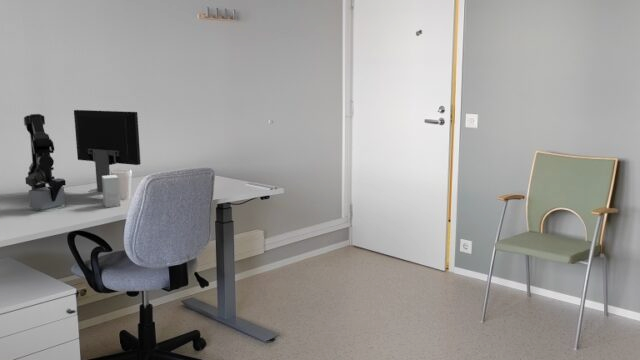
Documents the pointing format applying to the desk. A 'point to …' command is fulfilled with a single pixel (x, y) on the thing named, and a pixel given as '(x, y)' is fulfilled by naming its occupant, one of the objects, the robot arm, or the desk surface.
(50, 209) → the tape square
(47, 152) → the robot arm
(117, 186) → the small box
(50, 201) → the large grey box
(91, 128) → the computer monitor
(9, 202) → the desk surface
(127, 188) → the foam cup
